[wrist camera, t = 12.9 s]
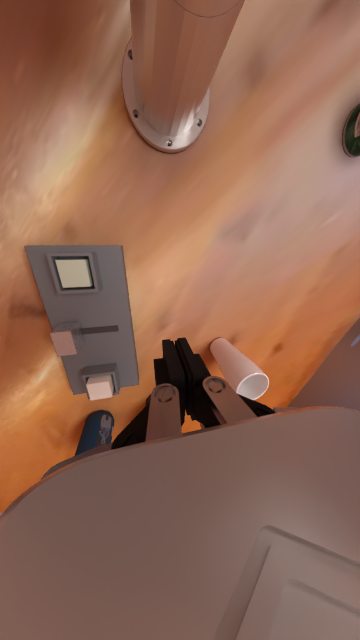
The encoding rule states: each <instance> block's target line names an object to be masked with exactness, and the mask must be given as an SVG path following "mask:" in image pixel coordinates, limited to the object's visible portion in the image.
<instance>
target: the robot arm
mask: <svg viewBox="0 0 360 640" xmlns="http://www.w3.org/2000/svg"><path fill="white" fill-rule="evenodd" d="M243 3H244V0H130V11H131V33H132V37H131V39H130V41H129V43H128V45H127V47H126V50H125V54H124V57H123V64H122V88H123V96H124V100H125V104H126V108H127V111H128V114H129V116H130V119H131V121H132V123H133V125H134V126H135V128H136V130H137V131H138V133H139V134H140V135H141V137H142V138H143V139H144V140H145V141H146V142H147V143H148V144H150V145H151V146H153V147H154V148H156V149H158V150H160V151H163V152H167V153H177V152H180V151H183V150H185V149H187V148H188V147H190V146H191V145H192V144H193V143H194V142H195V141H196V140H197V138H198V137H199V135H200V134H201V132H202V130H203V128H204V125H205V122H206V119H207V116H208V111H209V105H210V87H209V85H210V83H211V81H212V78H213V76H214V73H215V71H216V68H217V66H218V64H219V61H220V59H221V56H222V54H223V51H224V49H225V47H226V44H227V42H228V39H229V37H230V34H231V32H232V30H233V27H234V25H235V22H236V20H237V17H238V15H239V13H240V10H241V8H242V5H243ZM131 59H132V60H131ZM135 116H137V117H138V118H135ZM198 125H199V126H198ZM168 144H169V145H170V147H169V146H168ZM162 346H163V358H160V359H154V371H155V381H156V387H155V388H154V389H153V391H152V393H151V400H150V403H149V404H148V405H147V406H146V407H145V408H144V409H143V410H142V411H141V412H140V413H139V414H138V415H137V416H136V417H135V418H134V419H133V420H132V421H131V423H130V424H129V425H128V426H127V427H126V428H125V429H124V430H123V431H122V432H121V433H120V434H119V435H118V436H117V437H116V439H115V440H114V442H112V443H110V444H108V445H106V443H104V444H102V445H99V446H97V447H95V448H92V449H90V450H88V451H85V452H83V453H81V454H79V455H76V456H74V457H72V458H69V459H67V460H65V461H62V462H60V463H58V464H56V465H55V466H53V467H52V468H50V469H49V470H48V471H47V472H46V473H45V474H44V476H43V477H42V478H41V480H40V481H38V482H37V483H35V484H34V485H33V486H31V487H30V488H29V489H27V490H26V491H25V492H23V493H22V494H21V495H20V496H19V497H18V498H17V499H15V500H14V501H13V502H12V503H11V504H10V505H9V507H8V508H7V509H6V510H5V511H4V512H3V514H2V515H1V516H0V640H360V411H357V410H353V409H349V408H342V407H336V406H335V407H334V406H317V407H308V408H280V407H273V410H272V409H271V408H269V407H267V406H266V405H263V404H261V403H259V402H256V401H254V400H251V399H249V398H247V397H244V396H242V395H240V394H237V393H236V392H235V391H234V390H233V388H232V387H231V386H230V385H229V384H228V383H227V382H226V381H225V380H224V379H222V378H221V377H217V376H211V375H210V373H209V371H208V369H207V368H206V366H205V364H204V362H203V360H202V359H201V357H200V355H199V354H193V352H192V350H191V348H190V346H189V344H188V342H187V340H186V338H178V339H177V340H176V341H175V345H174V342H173V341H170V339H167V340H162ZM185 409H186V413H187V415H190V416H191V419H192V421H193V420H197V421H198V422H200V426H201V429H200V430H196V431H191V432H187V433H182V434H181V427H182V425H183V423H184V416H185Z"/></svg>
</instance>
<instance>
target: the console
mask: <svg viewBox="0 0 360 640" xmlns="http://www.w3.org/2000/svg"><path fill="white" fill-rule="evenodd" d="M24 247H25V250H26V253H27V256H28V259H29V262H30V265H31V268H32V271H33V274H34V277H35V280H36V283H37V286H38V289H39V292H40V295H41V298H42V301H43V304H44V307H45V310H46V313H47V316H48V319H49V322H50V325H51V328H52V330H54V329H55V328H56V327H57V326H58V325H59V324H60V323H70V322H79V325H80V328H81V332H82V336H83V340H84V344H83V345H82V347H81V349H80V350H79V352H78V353H77V354H74V355H65V356H61V358H62V361H63V364H64V367H65V371H66V374H67V377H68V380H69V383H70V386H71V389H72V392H73V395H76V394H82V393H87V396H88V399H90V397H89V393H88V390H87V386H86V384H87V381H88V379H89V377H93V376H100V375H107V374H112V378H113V383H114V390H113V395H117V394H119V390H120V388H121V387H127V386H133V385H139V373H138V365H137V357H136V349H135V341H134V333H133V325H132V317H131V309H130V301H129V294H128V286H127V278H126V270H125V262H124V254H123V246H24ZM61 259H89V261H90V266H91V271H92V276H93V281H94V285H92V286H90V287H67V288H63V287H62V283H61V279H60V276H59V272H58V268H57V265H56V261H55V260H61Z"/></svg>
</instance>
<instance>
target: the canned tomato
mask: <svg viewBox="0 0 360 640" xmlns="http://www.w3.org/2000/svg"><path fill="white" fill-rule="evenodd" d="M342 142H343V148H344V150H345V152H346V154H347V155H348V156H350V157H358V156H360V104H358V105H357V106H356V107H355V108H354V109H353V110H352V112H351V113H350V115H349V117H348V119H347V121H346V123H345V126H344V130H343V138H342Z"/></svg>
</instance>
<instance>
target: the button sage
mask: <svg viewBox="0 0 360 640" xmlns="http://www.w3.org/2000/svg"><path fill="white" fill-rule="evenodd" d="M55 261H56V265H57V268H58V272H59V276H60V279H61V283H62V287H63V288H67V287H90V286H92V285H94V281H93V276H92V271H91V266H90V261H89V259H61V260H55Z"/></svg>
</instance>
